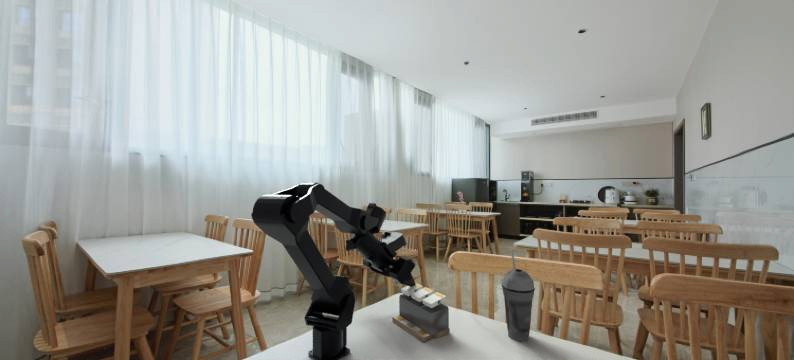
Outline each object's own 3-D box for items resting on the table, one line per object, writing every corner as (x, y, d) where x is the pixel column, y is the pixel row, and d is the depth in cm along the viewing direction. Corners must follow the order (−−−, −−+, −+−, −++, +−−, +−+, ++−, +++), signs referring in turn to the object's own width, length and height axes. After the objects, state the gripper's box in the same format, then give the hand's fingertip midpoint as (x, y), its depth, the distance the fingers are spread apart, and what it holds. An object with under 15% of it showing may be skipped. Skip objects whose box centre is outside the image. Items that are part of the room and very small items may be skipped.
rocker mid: (419, 302, 74) (419, 297, 74) (411, 297, 77) (410, 293, 77) (434, 294, 77) (433, 290, 77) (425, 290, 80) (425, 286, 80)
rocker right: (431, 308, 70) (431, 304, 70) (422, 303, 73) (422, 299, 73) (446, 300, 73) (446, 296, 73) (437, 295, 76) (436, 291, 76)
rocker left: (408, 296, 78) (408, 292, 78) (401, 292, 81) (400, 288, 81) (423, 289, 81) (422, 285, 81) (415, 286, 83) (414, 282, 83)
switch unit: (423, 342, 69) (423, 314, 69) (392, 321, 79) (392, 296, 79) (449, 332, 73) (449, 306, 73) (416, 313, 84) (416, 290, 84)
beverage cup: (539, 346, 67) (538, 255, 67) (504, 342, 68) (503, 253, 69) (531, 330, 74) (530, 248, 74) (500, 327, 76) (499, 247, 76)
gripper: (408, 227, 75) (442, 265, 81) (371, 220, 91) (402, 252, 97) (381, 264, 71) (419, 301, 77) (347, 250, 86) (381, 282, 92)
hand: (405, 281), depth 86 cm, fingers open, 8 cm apart
